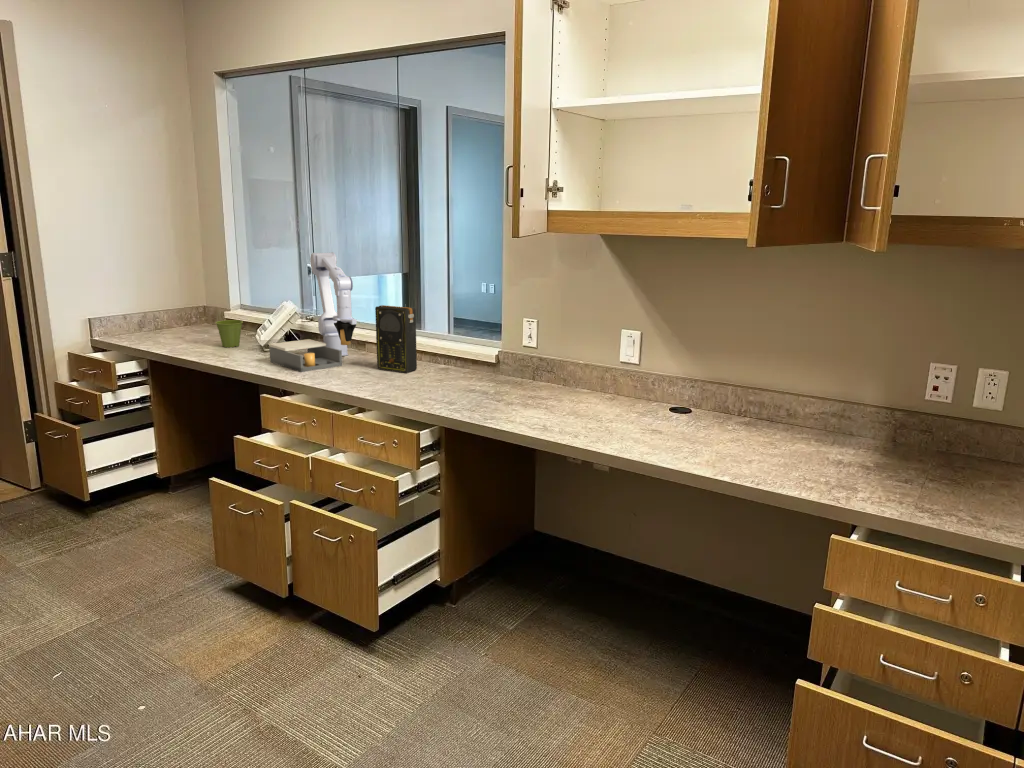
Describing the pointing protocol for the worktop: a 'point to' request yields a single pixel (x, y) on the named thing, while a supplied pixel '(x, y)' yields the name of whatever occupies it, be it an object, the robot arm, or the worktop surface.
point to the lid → (297, 345)
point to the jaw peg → (343, 338)
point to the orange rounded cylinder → (309, 359)
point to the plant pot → (229, 332)
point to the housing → (323, 359)
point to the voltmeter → (396, 338)
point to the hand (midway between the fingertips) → (345, 340)
